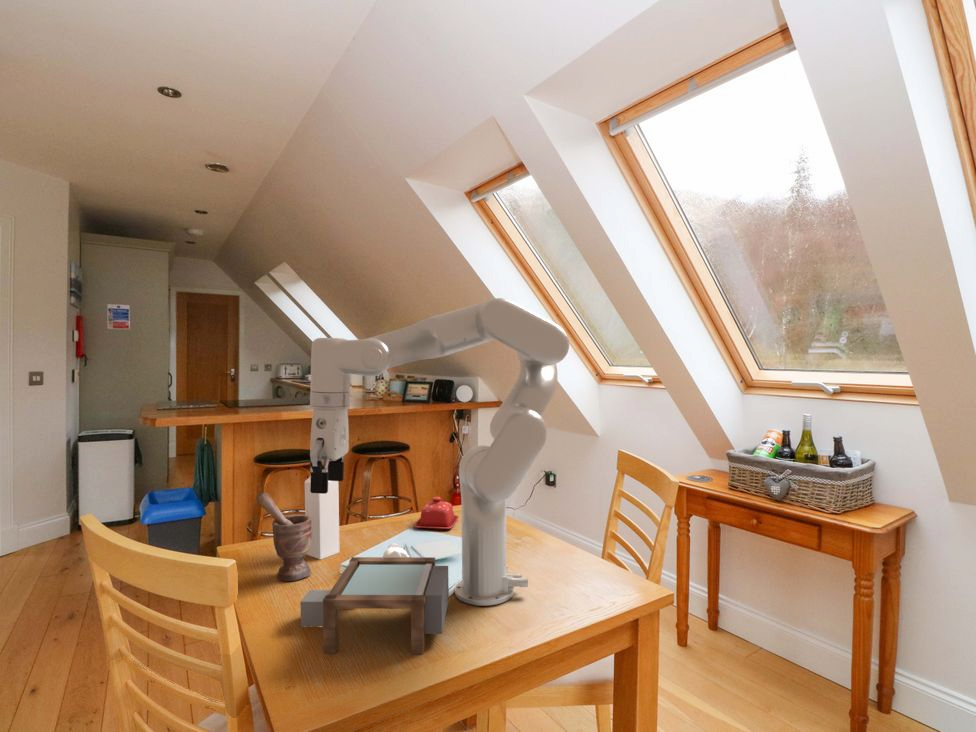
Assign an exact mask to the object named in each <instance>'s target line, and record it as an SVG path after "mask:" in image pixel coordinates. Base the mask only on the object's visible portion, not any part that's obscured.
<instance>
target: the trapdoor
mask: <svg viewBox="0 0 976 732" xmlns="http://www.w3.org/2000/svg"><path fill="white" fill-rule="evenodd" d="M431 571H432V572H431ZM430 575H431V576H430ZM429 578H430V579H429ZM428 581H429V583H428ZM427 585H428V586H427ZM426 588H427V589H426ZM425 591H426V593H425ZM341 595H424V635H428V634H429V635H437V634H438V635H441V634H443V630H444V626H445V620H446V616H447V610H448V605H449V601H450V600H449V597H450V595H449V565H435V566H433V569H432V564H426V565H359V567H358V568H357V570H356V572H355V573H354V575H353V576H352V578H351V580H350V581H349V583H348V584H347V586H346V588H345V589H344V591H343V592H342V594H341Z"/></svg>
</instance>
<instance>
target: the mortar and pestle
mask: <svg viewBox="0 0 976 732" xmlns="http://www.w3.org/2000/svg"><path fill="white" fill-rule="evenodd" d="M256 501H257V503H258V504H259V505H260V507H262V508H263V509H264V511H266V512H267V513H268V514H269V515H270V517H272V518H273V519H274V520H272V523H271V525H272V526H271V527H272V534H273V535H272V539H273V545H274V549H275V552H276V555H277V556H278V557H279V558H280V559H281V560H282V561H283V564H282V565H281V566H280V567H279V568H278V571H277V580H280V581H283V582H294V581H295V582H296V581H298V580H299V581H300V580H302V579H305V578H307V577H310V576H311V571H312V570H311V568H310V565H309V564H308V563H306V561H305V560H304V558H305V557H306V556H307V553H308V551H309V549H310V544H311V539H312V530H311V528H312V525H311V522H312V521H311V517H310V516H307V515H305V514H292V515H291V514H290V515H284V514H283V513H282V512H281V510H280V509H279V507H278V505H277V504H276V502H275V501H274V499H273V498H272V496H271V495H270V493H268V492H266V491H262V492H260V493H259V494H258V495H257V496H256Z"/></svg>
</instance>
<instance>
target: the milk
mask: <svg viewBox="0 0 976 732" xmlns="http://www.w3.org/2000/svg"><path fill="white" fill-rule="evenodd" d="M326 472H328V469H327V471H326ZM310 486H311V475H310V476H309V477H308V478H307V479H305V480H304V515H307V516H310V517H311V521H312V522H311V525H312V528H311V530H312V539H311V544H310V549H309V551H308V553H307V554H306V556H309V557H312V558H315V559H317V560H323V559H326V558H328V557H331V556H333V555H336V554H339V553H340V514H339V513H340V511H339V510H340V507H339V506H340V503H339V501H340V499H339V498H340V497H339V495H340V494H339V481H329V480H328V492H327V493H326V494H321V493H311V492H310Z"/></svg>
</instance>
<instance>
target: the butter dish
mask: <svg viewBox="0 0 976 732" xmlns="http://www.w3.org/2000/svg"><path fill="white" fill-rule="evenodd" d="M431 500H432V501H430V502H428V503H426V504H424V506H423V507H422V509H421V512H420V517H419V519H418V520H417V521H416V522H415V524H414V527H415V528H418V529H430V530H431V529H432V530H433V529H436V530H449V529H452V528H453V527H454V525H455V523H457V521H458V519H459V515H455V513H454V509H453V505H452V503H450V502H447V501H442V498H441V497H440V496H434V497H432V498H431Z"/></svg>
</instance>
